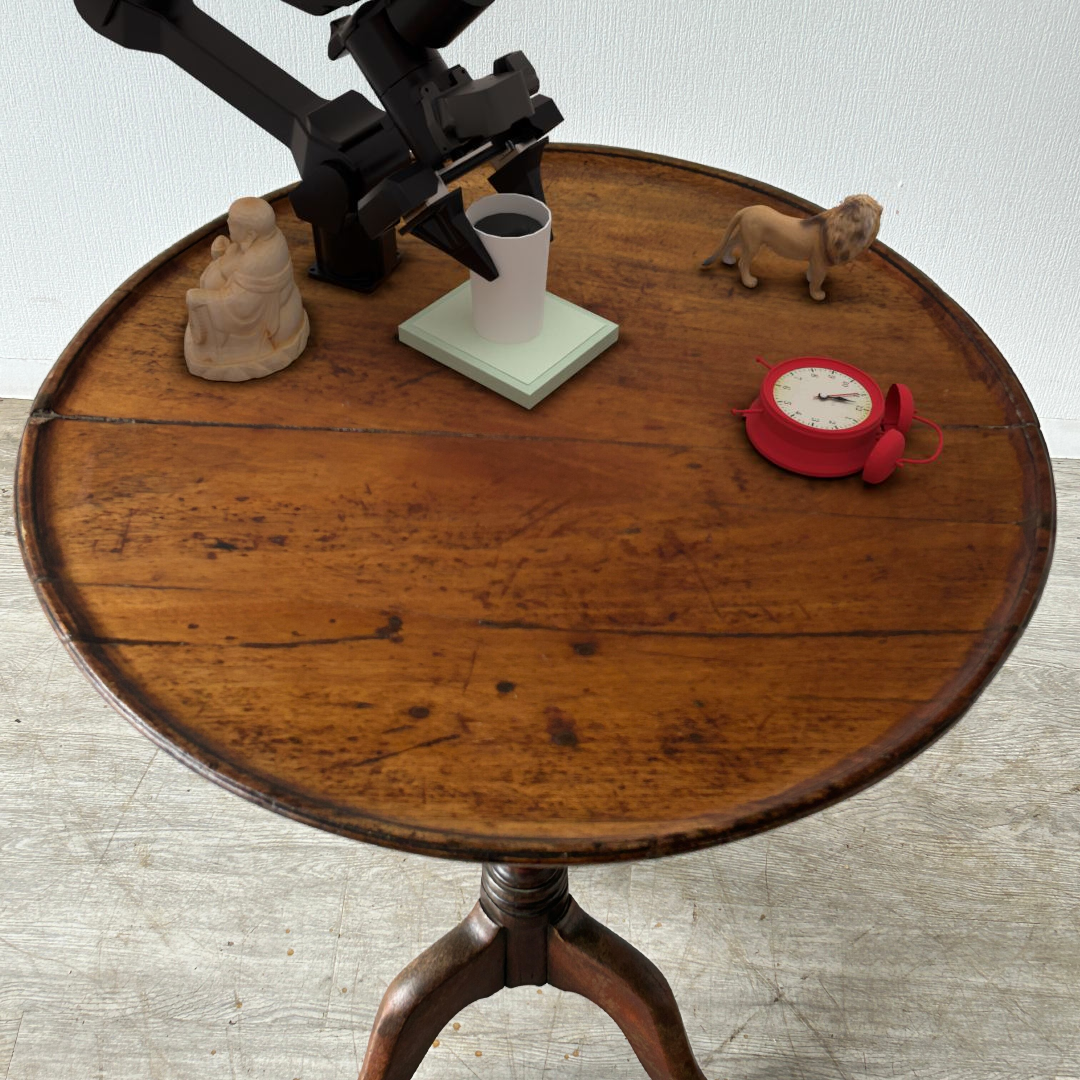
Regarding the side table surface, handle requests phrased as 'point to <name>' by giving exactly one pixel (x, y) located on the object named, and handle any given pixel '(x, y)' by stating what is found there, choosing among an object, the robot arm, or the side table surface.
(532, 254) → the white cup
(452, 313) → the board
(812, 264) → the lion figurine
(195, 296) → the statue
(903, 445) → the alarm clock
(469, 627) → the side table surface
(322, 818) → the side table surface
